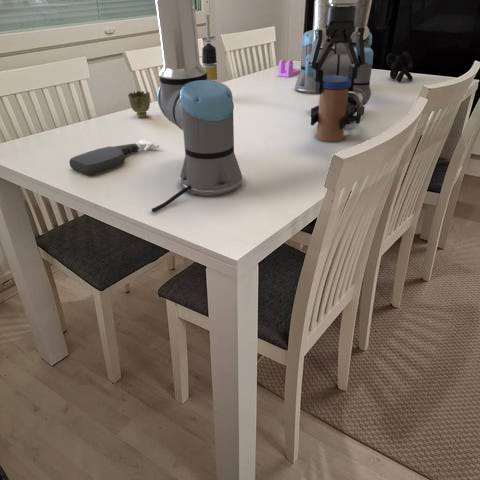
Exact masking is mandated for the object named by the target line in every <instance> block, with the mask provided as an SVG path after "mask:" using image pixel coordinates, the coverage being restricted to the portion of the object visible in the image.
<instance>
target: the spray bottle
mask: <svg viewBox="0 0 480 480" xmlns="http://www.w3.org/2000/svg"><path fill="white" fill-rule="evenodd" d="M159 148H160V145H159V144H158V143H155V142H151V141H148V140H144V139H139V140H138V141H137V142H135V143H129V144H128V143H126V144H122V145H113V146H105V147H100V148H97V149H94V150H90V151H87V152H83V153H81V154H78V155H74V156H73V157H70V159H69V161H68V162H69V167H70V168H71V169H72V170H74V171H75V172H78V173H81V174H83V175H85V176H89V177H90V176H91V177H92V176H95V175H99V174H102V173H105V172H107V171H110V170H113V169H116V168H118V167H120V166H122V165H123V164H124V163H125V158H126V156H127V155H131V154H133V153H138V151H140V150H143V151H144V152H146V151H147V150H149V149H159Z"/></svg>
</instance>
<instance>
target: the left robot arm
mask: <svg viewBox="0 0 480 480" xmlns="http://www.w3.org/2000/svg"><path fill="white" fill-rule="evenodd" d="M328 3H329V4H330V6H329V7H328V10H327V24H326V27H325V28H324V29H315V40H314V44H313V47H312V51H311V55H310V58H309V62H308V66H309V67H311V68H313V69H314V81H315V82H316V93H318V94H317V95H320V94H322V81H323V70H321V67H322V65H323V63H324V62H325V60H326V58H327V56H328V54H329V52H330V50H331V48H332V47H333V46H334V44H338V43H344V45H345V47H346V50H347V53H348V56H349V59H350V61H351V64H352V66H349V70H348V77H349V78H351V79H352V80H351V87H349V91H350V92H352V91H353V86H354V79H356V78H357V73H358V68H360V66H361V65H364V64H365V52H364V40H363V35H364V31H365V28H364V27H360V26H358V27H355V25H354V21H355V16H356V6H354V4H356V3H357V0H328ZM195 5H196V4H195V0H155V6H156V14H157V23H158V29H159V36H160V37H159V38H160V44H161V45H160V46H161V52H162V61H163V67H162V69H161V70H160V71H159V73H158V77H159V85H160V86H159V87H158V90H157V104H158V107H159V110H160V112H161V113H162V114H163V116H164V117H165V118H166V119H167V120H168V121H169V122H171V124H174V125H175V126H176V127H178V128H179V129H180V130H181V131H182V132H183V143H184V154H185V155H184V158H183V164H182V168H181V171H180V177H179V183H180V184H179V185H180V188H181V189H180V191H178V192H177V193H175V194H174V195H172V197H170V198H169V199H167V200H166V201H164V202H163V203H161V204H159V205H156V206H155V207H153V208H151V212H152V213H156V212H157V211H159V210H162V209H163V208H165V207H167V206H168V205H170V204H171V203H173V202H174V201H176V200H177V199H178V198H179V197H181V196H182V195H184V194H185V193H187V194H190V195H194V196H199V197H221V196H224V195H229V194H232V193H234V192H235V191H237V190H239V189H240V188H241V187H242V185H243V174H242V171H241V168H240V165H239V163H238V160H237V157H236V154H235V132H234V131H235V130H234V127H235V126H234V109H235V105H234V100H233V98H234V97H233V93H232V90H231V88H230V87H228V86H227V85H226V84H225V83H222V82H219V81H215V82H213V81H214V80H212V81H209V80H207V70H206V69H205V68H204V67H203V64H201V62H200V51H199V39H198V38H199V37H198V29H197V16H196V8H195V7H196V6H195ZM353 32H354V33H355V39H356V50H357V56H356V53H355V50H354V47H353V42H352V39H351V35H352V34H353ZM325 33H326V35H327V39H326V41H325V45H324V47H323V49H322V51H321V53H320V55H319V57H318V54H319V50H320V47H321V43H322V38H323V37H324V34H325ZM317 58H318V59H317Z"/></svg>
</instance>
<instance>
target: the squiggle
mask: <svg viewBox="0 0 480 480" xmlns="http://www.w3.org/2000/svg"><path fill="white" fill-rule="evenodd" d="M401 57H402V59H401ZM391 59H392V60H391ZM393 60H394V61H393ZM385 61H386V64H387V67H390V68H391V70H390V72H389V78H390V79H391V80H395V79H396V81H397V82H399V83H400V82H402V81H403V79H404V76H406V78H407V80H408V81H412V80H413V79H414V77H413V75H412V74H411V73H410V72H409V71H410V70H412V69H413V68H414V64H413V61H412V57H411V54H410V53H409V52H408V51H403V53H402V54H401V55H396V54H394V53H392V52H390V53H387V55H386V57H385ZM406 62H407V65H408V66H407V67H405V66H404V65H405V64H406ZM400 70H401V71H400Z"/></svg>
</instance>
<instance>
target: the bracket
mask: <svg viewBox="0 0 480 480" xmlns="http://www.w3.org/2000/svg"><path fill="white" fill-rule="evenodd" d="M300 71H301V68H297V67H296V68H295V67H294V62H293V60H289V59H288V60H287V62H286V60H285V59H279V61H278V74H277V75H278V77H284V78H290V77H293V76H296V75H299V74H300Z"/></svg>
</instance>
